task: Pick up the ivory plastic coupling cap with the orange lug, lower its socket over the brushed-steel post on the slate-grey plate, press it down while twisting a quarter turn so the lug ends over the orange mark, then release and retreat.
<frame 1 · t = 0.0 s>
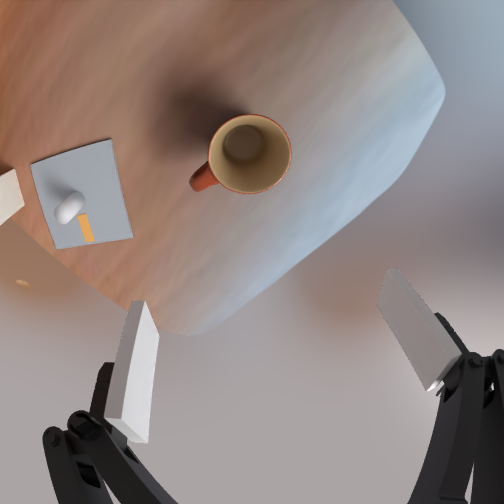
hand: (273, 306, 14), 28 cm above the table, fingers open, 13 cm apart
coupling: (8, 191, 32), on the table
mug: (231, 146, 36), on the table
post base: (78, 198, 36), on the table
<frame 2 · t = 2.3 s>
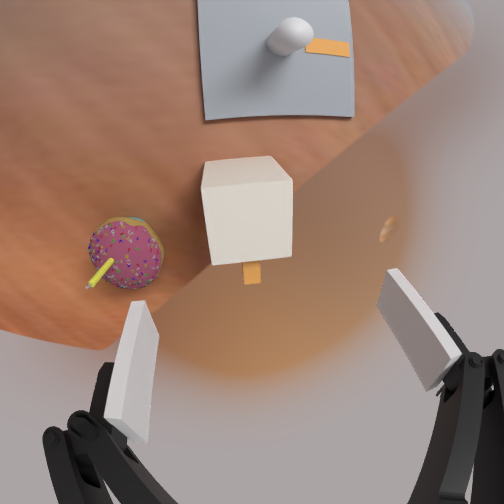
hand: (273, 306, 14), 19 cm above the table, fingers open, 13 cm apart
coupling: (240, 188, 30), on the table
cupcake: (136, 233, 31), on the table
post base: (280, 44, 21), on the table
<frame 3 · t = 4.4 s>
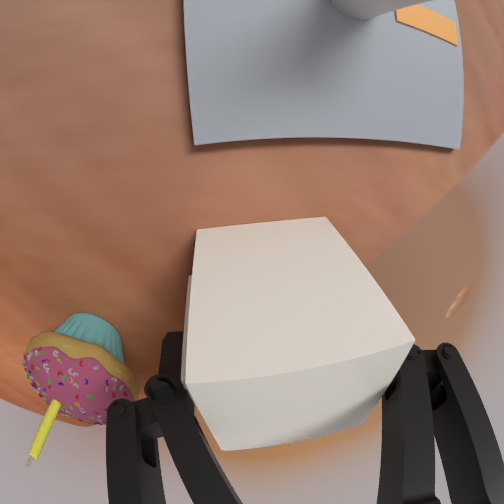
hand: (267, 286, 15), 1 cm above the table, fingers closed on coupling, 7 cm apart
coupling: (265, 275, 16), on the table, touching gripper
cupcake: (95, 332, 18), on the table
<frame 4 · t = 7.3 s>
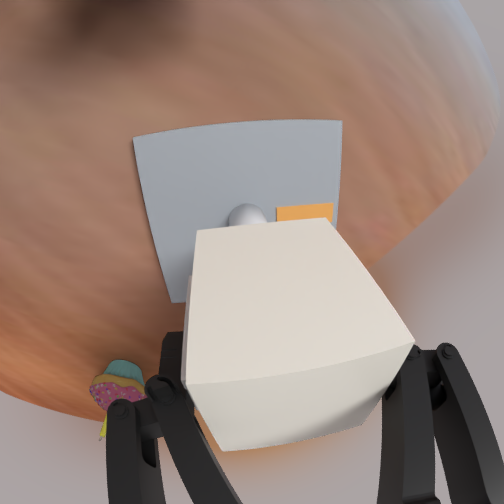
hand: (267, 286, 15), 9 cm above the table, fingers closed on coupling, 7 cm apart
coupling: (265, 276, 16), point 8 cm above the table, touching gripper
cupcake: (126, 367, 32), on the table
post base: (246, 217, 23), on the table
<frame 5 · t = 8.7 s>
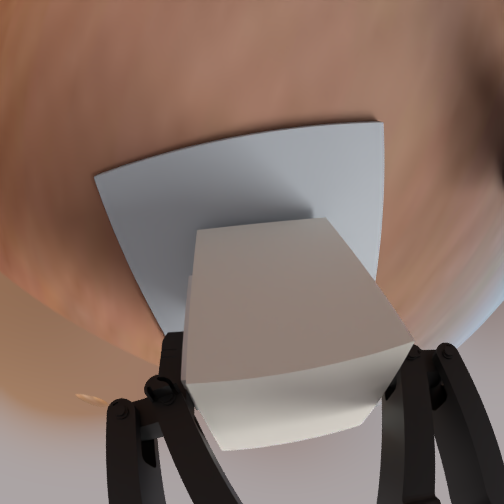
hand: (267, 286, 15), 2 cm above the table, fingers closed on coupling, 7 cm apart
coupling: (265, 275, 16), point 1 cm above the table, touching gripper
post base: (262, 264, 17), on the table
when the fingers open (2 cm above the table, at t = 10.0 s): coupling stays where it is, resting on post base.
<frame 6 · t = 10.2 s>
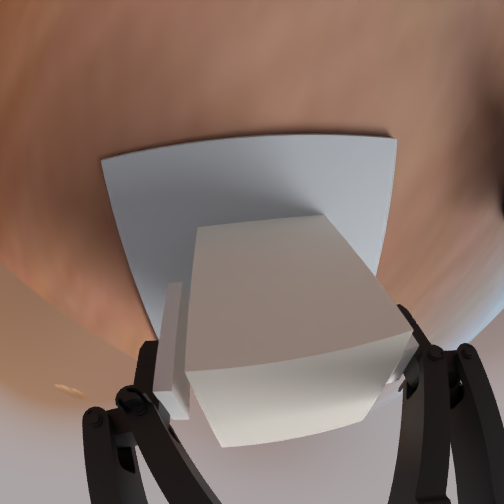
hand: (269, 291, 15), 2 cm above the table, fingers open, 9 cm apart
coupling: (264, 273, 17), point 1 cm above the table, touching post base
post base: (262, 268, 17), on the table
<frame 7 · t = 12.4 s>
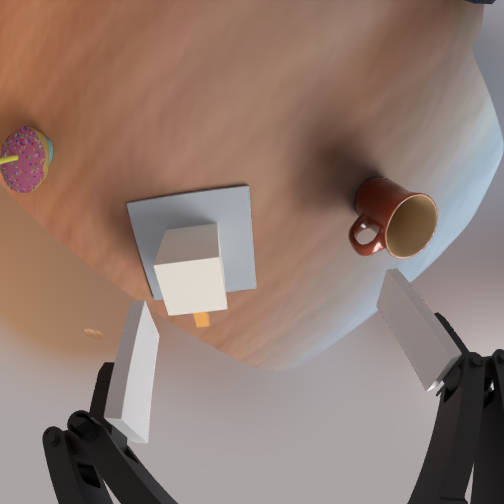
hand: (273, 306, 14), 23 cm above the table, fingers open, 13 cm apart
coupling: (195, 249, 37), point 1 cm above the table, touching post base
cupcake: (41, 152, 27), on the table
mug: (363, 202, 38), on the table
post base: (195, 247, 38), on the table
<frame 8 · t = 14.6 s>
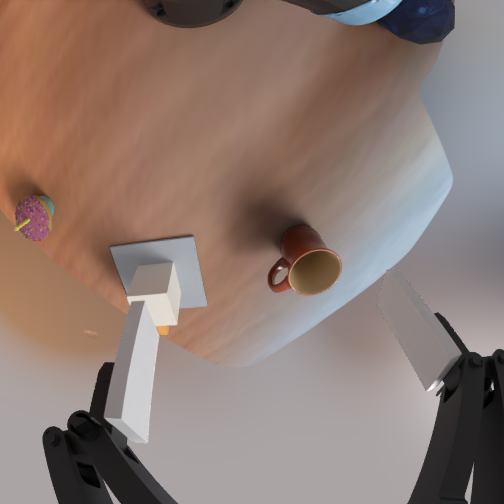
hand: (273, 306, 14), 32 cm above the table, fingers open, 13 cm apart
decorative orb: (387, 11, 28), on the table
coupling: (159, 279, 50), point 1 cm above the table, touching post base
cupcake: (45, 207, 39), on the table
mug: (290, 244, 50), on the table
post base: (160, 277, 50), on the table
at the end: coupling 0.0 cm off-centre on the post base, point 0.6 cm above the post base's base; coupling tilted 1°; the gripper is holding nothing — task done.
